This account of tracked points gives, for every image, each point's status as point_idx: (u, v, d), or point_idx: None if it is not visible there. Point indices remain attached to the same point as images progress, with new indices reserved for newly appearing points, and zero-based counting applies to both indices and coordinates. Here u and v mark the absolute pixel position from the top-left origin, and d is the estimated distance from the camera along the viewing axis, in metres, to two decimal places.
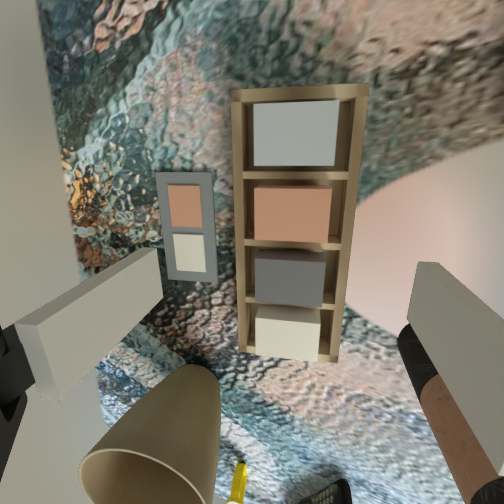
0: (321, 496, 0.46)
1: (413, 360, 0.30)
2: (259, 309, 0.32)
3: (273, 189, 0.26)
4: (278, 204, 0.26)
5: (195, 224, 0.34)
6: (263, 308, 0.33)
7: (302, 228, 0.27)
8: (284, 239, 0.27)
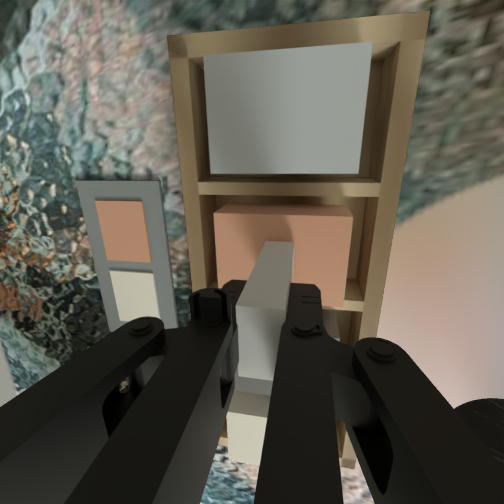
0: None
1: None
2: (234, 391, 0.21)
3: (247, 215, 0.14)
4: (256, 241, 0.15)
5: (140, 258, 0.23)
6: None
7: (300, 282, 0.15)
8: None
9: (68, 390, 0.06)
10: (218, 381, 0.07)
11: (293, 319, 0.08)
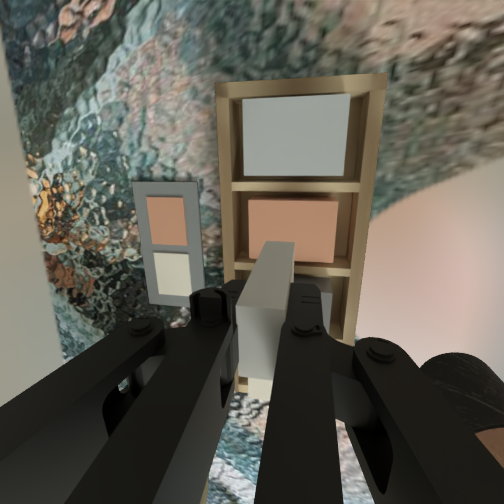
0: None
1: None
2: None
3: (270, 201, 0.22)
4: (276, 218, 0.23)
5: (179, 242, 0.30)
6: None
7: (304, 246, 0.23)
8: None
9: (68, 390, 0.06)
10: (219, 381, 0.07)
11: (293, 319, 0.08)
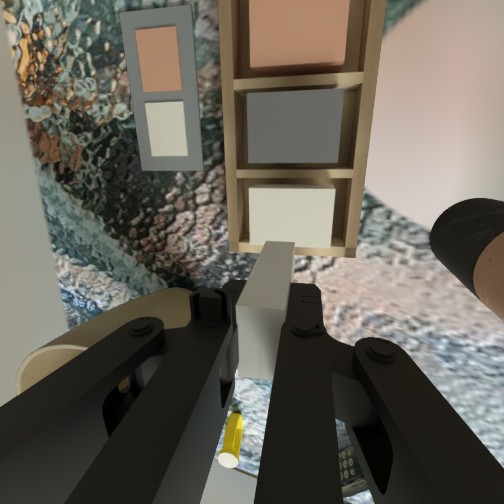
0: None
1: (458, 238, 0.23)
2: (254, 185, 0.25)
3: None
4: (280, 6, 0.20)
5: (172, 86, 0.27)
6: (259, 185, 0.25)
7: (312, 42, 0.20)
8: (288, 62, 0.21)
9: (68, 390, 0.06)
10: (218, 381, 0.07)
11: (293, 319, 0.08)
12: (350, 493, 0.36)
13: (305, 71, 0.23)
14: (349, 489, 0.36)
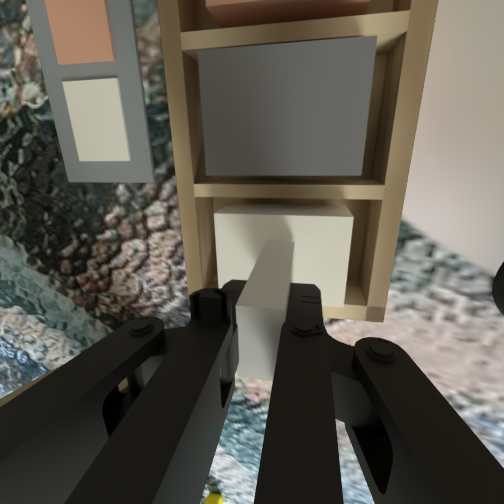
0: None
1: None
2: (226, 206, 0.16)
3: None
4: None
5: (100, 54, 0.18)
6: (234, 205, 0.16)
7: None
8: None
9: (68, 390, 0.06)
10: (218, 381, 0.07)
11: (293, 319, 0.08)
12: None
13: (304, 20, 0.14)
14: None
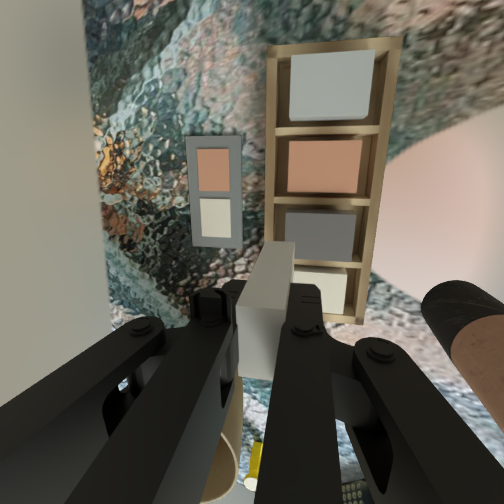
0: (345, 488, 0.46)
1: (441, 317, 0.30)
2: None
3: (307, 142, 0.28)
4: (311, 156, 0.28)
5: (222, 188, 0.35)
6: None
7: (333, 179, 0.29)
8: (316, 190, 0.29)
9: (68, 390, 0.06)
10: (219, 381, 0.07)
11: (293, 319, 0.08)
12: None
13: None
14: None
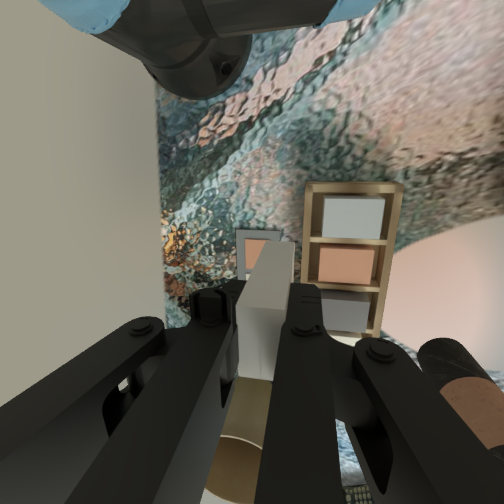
0: (356, 490, 0.58)
1: (431, 370, 0.41)
2: None
3: (334, 249, 0.38)
4: (336, 258, 0.39)
5: None
6: None
7: (353, 274, 0.39)
8: (339, 281, 0.40)
9: (68, 390, 0.06)
10: (218, 381, 0.07)
11: (293, 319, 0.08)
12: None
13: None
14: None
